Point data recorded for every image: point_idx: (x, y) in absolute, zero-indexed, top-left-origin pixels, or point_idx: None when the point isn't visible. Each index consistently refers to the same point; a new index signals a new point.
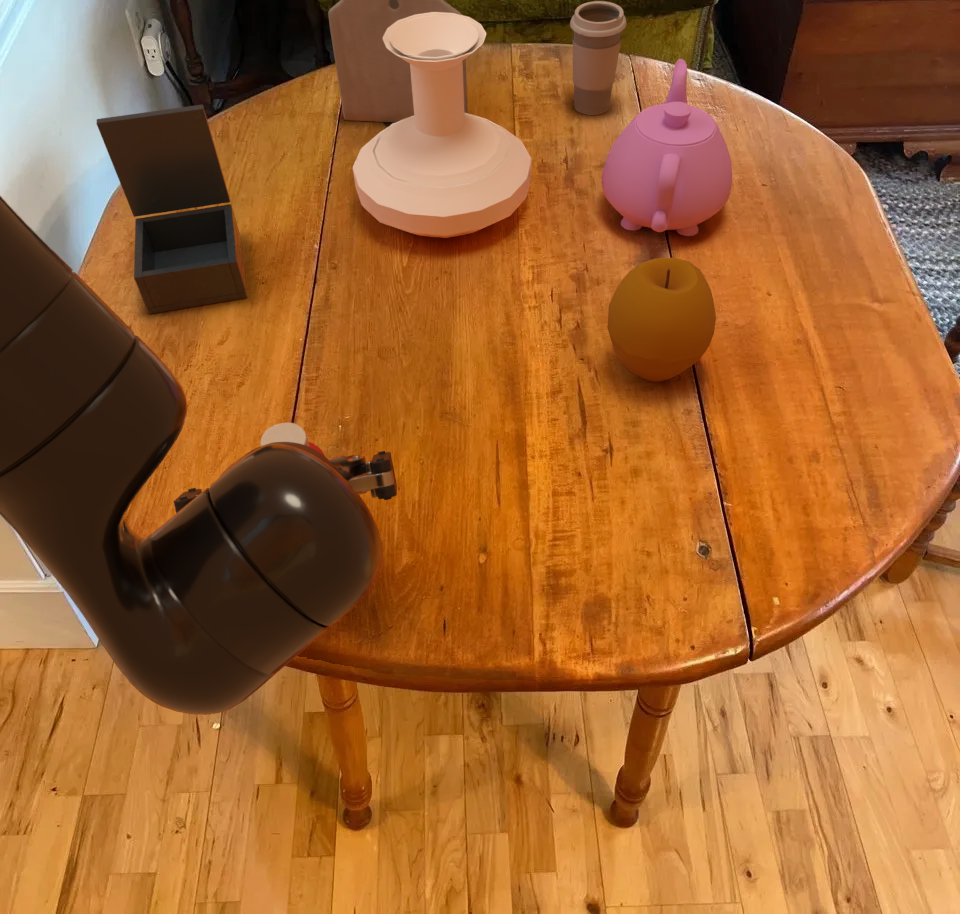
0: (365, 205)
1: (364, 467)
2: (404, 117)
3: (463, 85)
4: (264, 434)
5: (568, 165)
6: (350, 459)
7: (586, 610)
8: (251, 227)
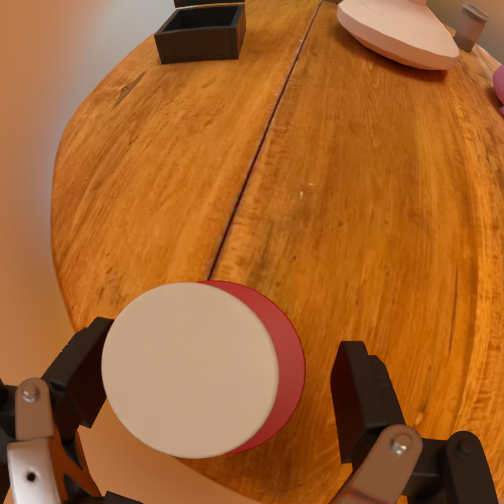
0: (345, 24)
1: (410, 479)
2: None
3: None
4: (121, 320)
5: (461, 64)
6: (388, 458)
7: None
8: (255, 25)
